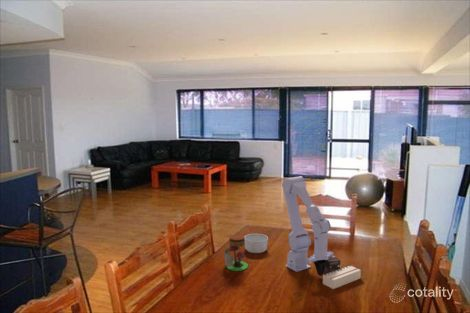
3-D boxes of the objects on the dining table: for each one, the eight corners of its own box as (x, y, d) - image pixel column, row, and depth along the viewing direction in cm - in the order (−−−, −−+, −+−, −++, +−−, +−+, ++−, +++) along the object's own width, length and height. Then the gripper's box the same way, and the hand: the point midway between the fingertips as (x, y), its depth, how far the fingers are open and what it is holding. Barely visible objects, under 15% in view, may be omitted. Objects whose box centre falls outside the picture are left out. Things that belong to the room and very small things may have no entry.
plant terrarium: (243, 259, 195) (243, 231, 193) (252, 269, 183) (252, 239, 181) (221, 263, 191) (220, 234, 189) (229, 273, 179) (229, 242, 177)
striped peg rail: (333, 289, 163) (333, 279, 162) (322, 283, 168) (323, 274, 167) (360, 278, 173) (360, 269, 172) (349, 273, 178) (350, 265, 177)
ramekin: (261, 256, 199) (261, 243, 198) (239, 251, 206) (239, 238, 205) (272, 248, 210) (272, 236, 210) (251, 243, 217) (251, 231, 216)
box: (328, 277, 174) (329, 261, 174) (322, 271, 180) (322, 256, 179) (340, 275, 176) (341, 260, 175) (333, 270, 182) (334, 255, 181)
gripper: (315, 252, 165) (315, 282, 167) (338, 245, 173) (337, 273, 174) (304, 247, 171) (303, 276, 172) (326, 240, 178) (326, 268, 180)
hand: (320, 274), depth 174 cm, fingers closed
